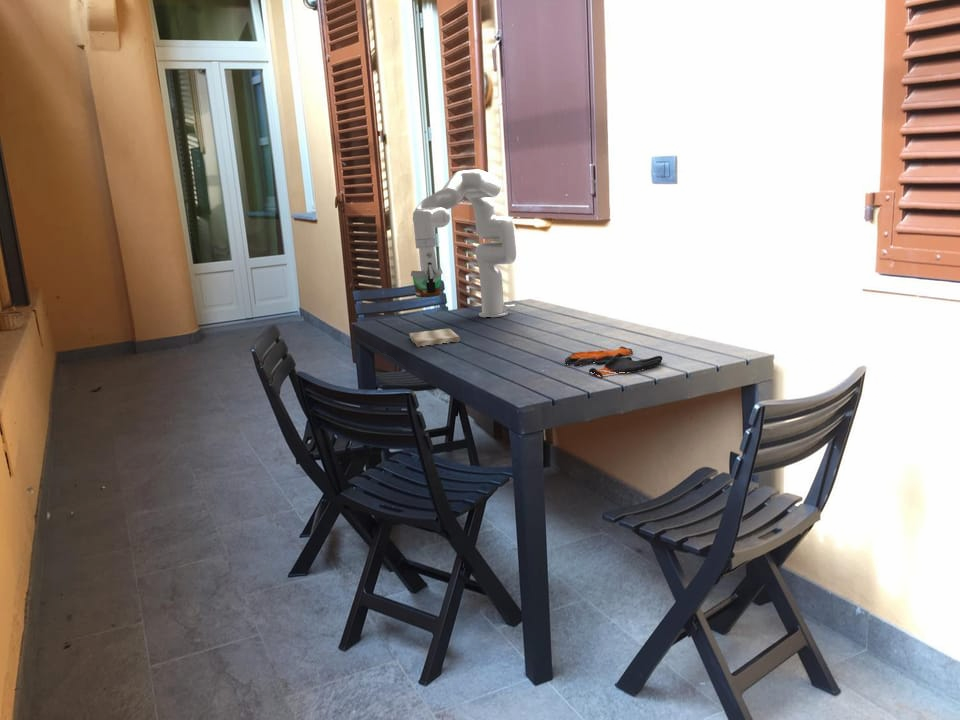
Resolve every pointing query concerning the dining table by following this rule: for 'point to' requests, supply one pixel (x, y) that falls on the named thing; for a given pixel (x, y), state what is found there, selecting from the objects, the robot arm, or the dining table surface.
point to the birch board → (434, 337)
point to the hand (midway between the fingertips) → (430, 291)
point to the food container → (421, 281)
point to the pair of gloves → (612, 361)
